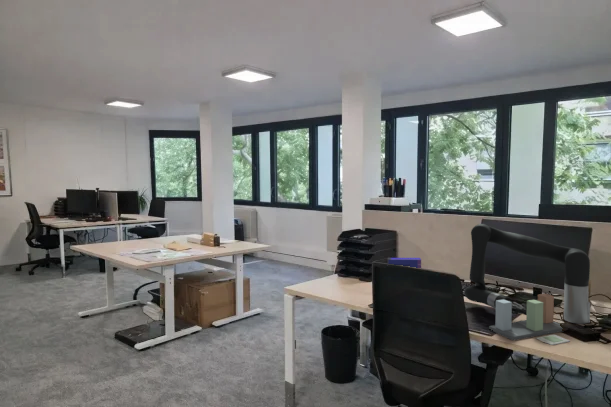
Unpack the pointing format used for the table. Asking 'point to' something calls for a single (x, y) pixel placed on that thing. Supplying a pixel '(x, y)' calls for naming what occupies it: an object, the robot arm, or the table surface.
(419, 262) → the cereal box
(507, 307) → the greyblue block
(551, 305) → the terracotta block
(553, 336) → the card
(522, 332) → the board
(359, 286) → the table surface
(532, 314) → the sage block
